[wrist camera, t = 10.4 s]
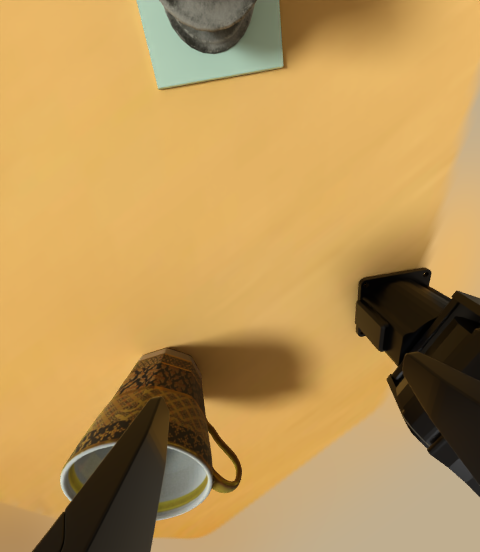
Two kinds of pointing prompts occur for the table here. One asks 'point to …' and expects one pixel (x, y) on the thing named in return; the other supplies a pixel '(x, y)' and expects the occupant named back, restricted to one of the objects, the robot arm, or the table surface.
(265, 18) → the plate
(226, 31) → the grey stone tiered figure
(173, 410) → the ceramic cup
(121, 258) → the table surface
